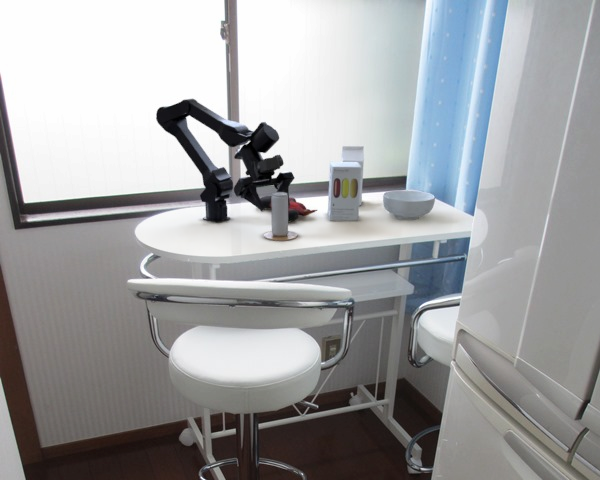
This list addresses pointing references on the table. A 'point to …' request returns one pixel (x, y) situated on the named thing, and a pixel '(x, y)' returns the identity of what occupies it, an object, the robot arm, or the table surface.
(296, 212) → the toy motorcycle
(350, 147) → the milk carton
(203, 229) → the table surface
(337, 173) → the supplement box
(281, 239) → the cork coaster
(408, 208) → the cereal bowl
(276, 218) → the beverage can
